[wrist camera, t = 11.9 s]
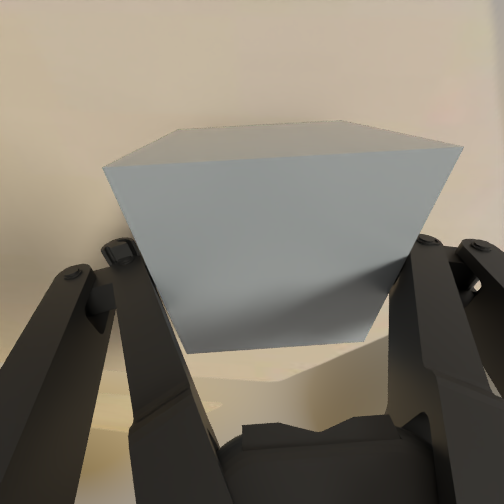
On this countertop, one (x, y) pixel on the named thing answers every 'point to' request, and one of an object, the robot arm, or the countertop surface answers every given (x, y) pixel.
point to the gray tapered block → (278, 227)
